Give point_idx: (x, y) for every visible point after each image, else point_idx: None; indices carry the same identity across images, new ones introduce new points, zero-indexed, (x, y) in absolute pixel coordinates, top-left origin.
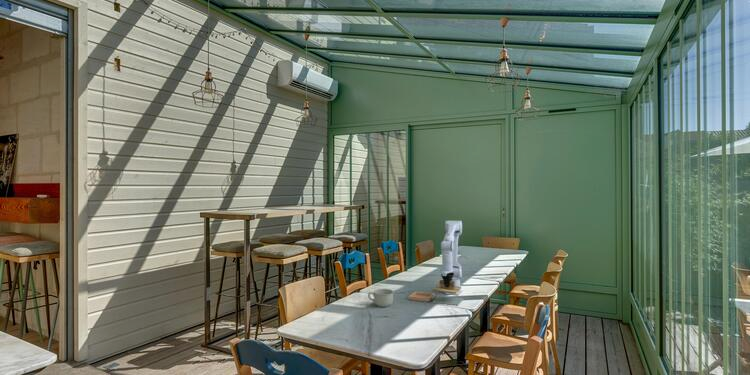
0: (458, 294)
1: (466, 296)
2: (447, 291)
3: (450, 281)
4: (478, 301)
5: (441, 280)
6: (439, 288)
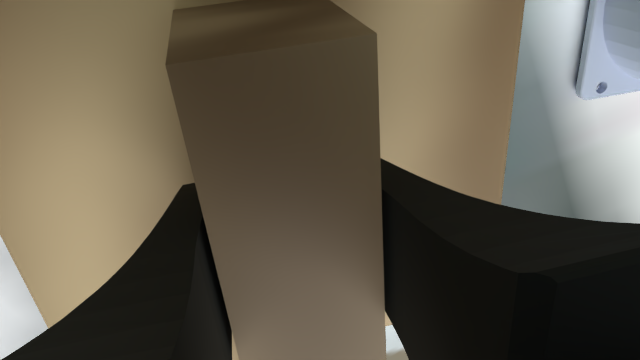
0: (585, 99)
1: (552, 189)
2: (27, 280)
3: (319, 339)
4: (399, 349)
5: (300, 88)
6: (136, 26)
